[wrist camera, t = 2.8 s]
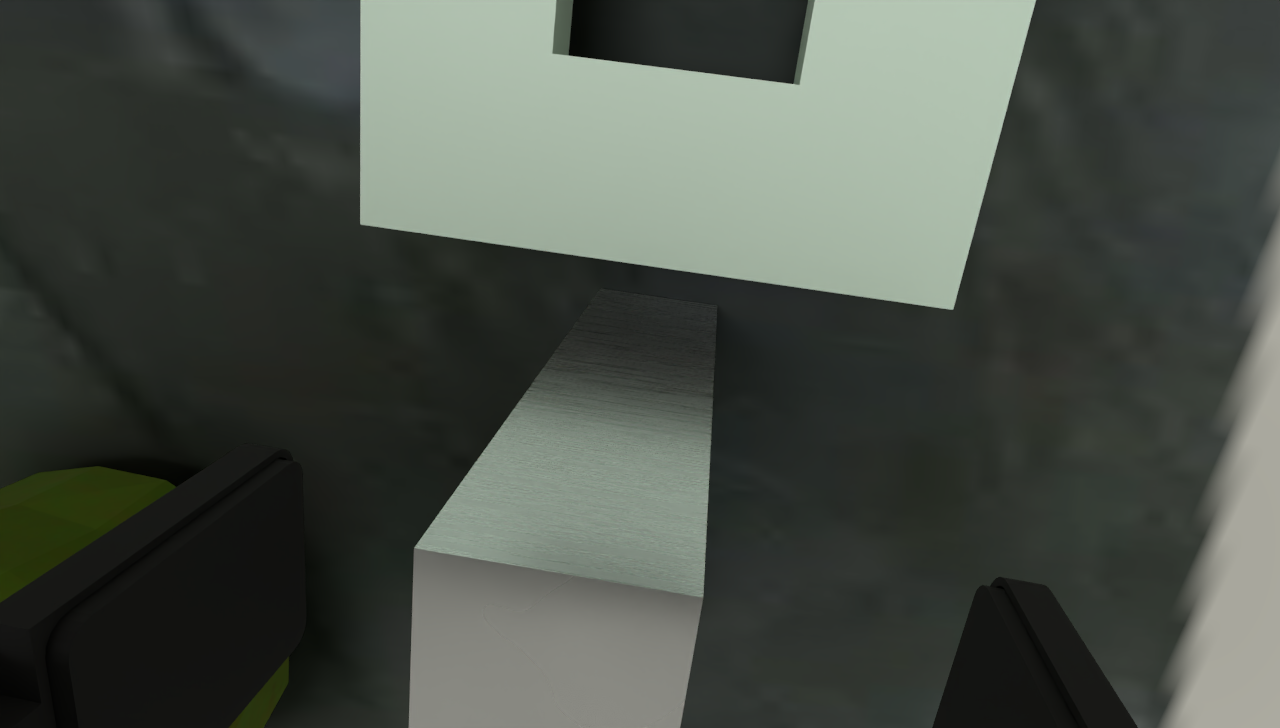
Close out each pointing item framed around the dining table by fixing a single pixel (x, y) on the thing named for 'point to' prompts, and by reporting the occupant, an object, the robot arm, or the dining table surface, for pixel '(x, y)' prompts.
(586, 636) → the long pin
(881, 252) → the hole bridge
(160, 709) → the robot arm
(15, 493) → the apple
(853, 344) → the dining table surface
